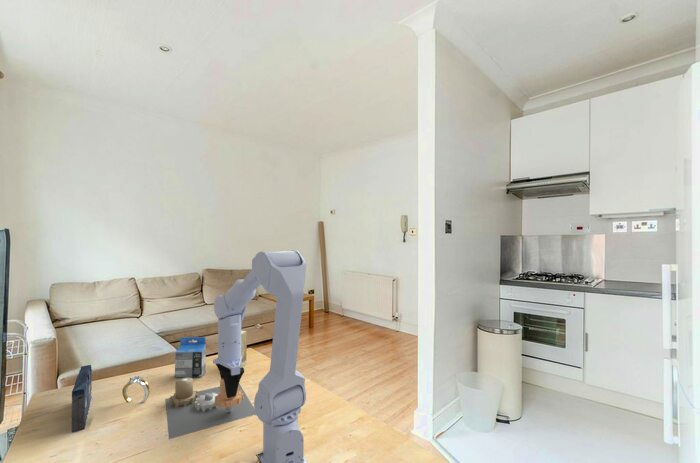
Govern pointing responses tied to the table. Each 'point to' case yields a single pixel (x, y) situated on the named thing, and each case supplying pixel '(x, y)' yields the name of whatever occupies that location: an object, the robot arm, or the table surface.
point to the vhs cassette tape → (81, 398)
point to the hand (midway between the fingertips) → (229, 392)
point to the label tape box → (190, 357)
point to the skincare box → (243, 348)
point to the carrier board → (200, 409)
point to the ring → (139, 381)
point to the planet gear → (227, 402)
